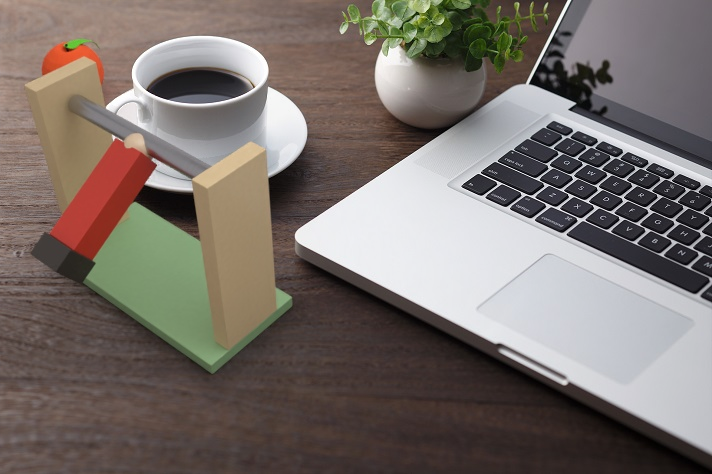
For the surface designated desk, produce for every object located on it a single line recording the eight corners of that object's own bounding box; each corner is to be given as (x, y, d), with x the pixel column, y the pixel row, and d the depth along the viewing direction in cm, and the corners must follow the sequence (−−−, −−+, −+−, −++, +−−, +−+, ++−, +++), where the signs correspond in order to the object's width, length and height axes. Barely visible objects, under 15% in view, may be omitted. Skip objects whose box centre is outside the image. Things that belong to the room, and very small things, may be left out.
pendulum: (-24, 215, 66) (69, 85, 67) (4, 230, 68) (92, 104, 70) (116, 315, 58) (216, 165, 60) (141, 326, 61) (236, 183, 63)
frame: (54, 263, 77) (1, 95, 65) (137, 210, 83) (103, 47, 71) (212, 374, 68) (185, 202, 56) (293, 306, 74) (284, 136, 61)
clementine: (86, 73, 103) (74, 20, 98) (127, 89, 100) (117, 36, 95) (36, 102, 98) (21, 48, 93) (78, 120, 95) (65, 65, 90)
